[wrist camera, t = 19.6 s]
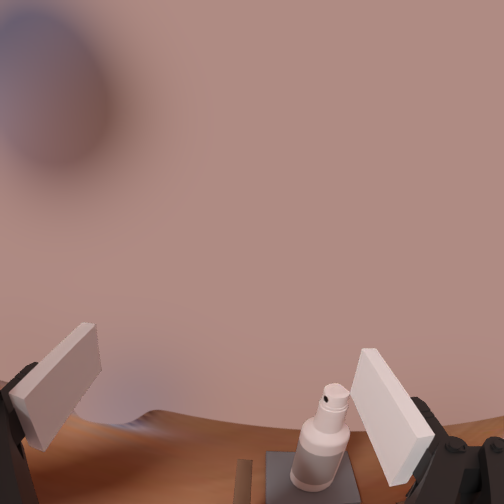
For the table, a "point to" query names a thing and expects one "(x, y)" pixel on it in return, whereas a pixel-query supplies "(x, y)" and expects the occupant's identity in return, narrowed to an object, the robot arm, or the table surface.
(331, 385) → the spray bottle
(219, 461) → the table surface
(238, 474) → the rack
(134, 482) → the table surface
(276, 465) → the mat
